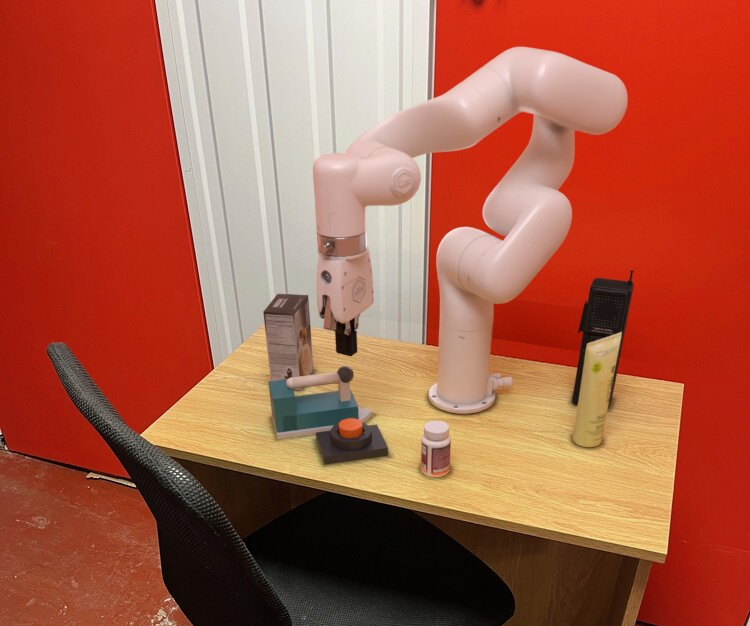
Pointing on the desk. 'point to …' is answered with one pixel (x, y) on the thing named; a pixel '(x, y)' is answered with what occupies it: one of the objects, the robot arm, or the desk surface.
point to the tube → (595, 390)
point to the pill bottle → (435, 449)
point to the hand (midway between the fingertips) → (346, 352)
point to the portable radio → (603, 320)
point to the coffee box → (288, 337)
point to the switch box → (351, 445)
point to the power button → (350, 428)
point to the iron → (313, 404)
